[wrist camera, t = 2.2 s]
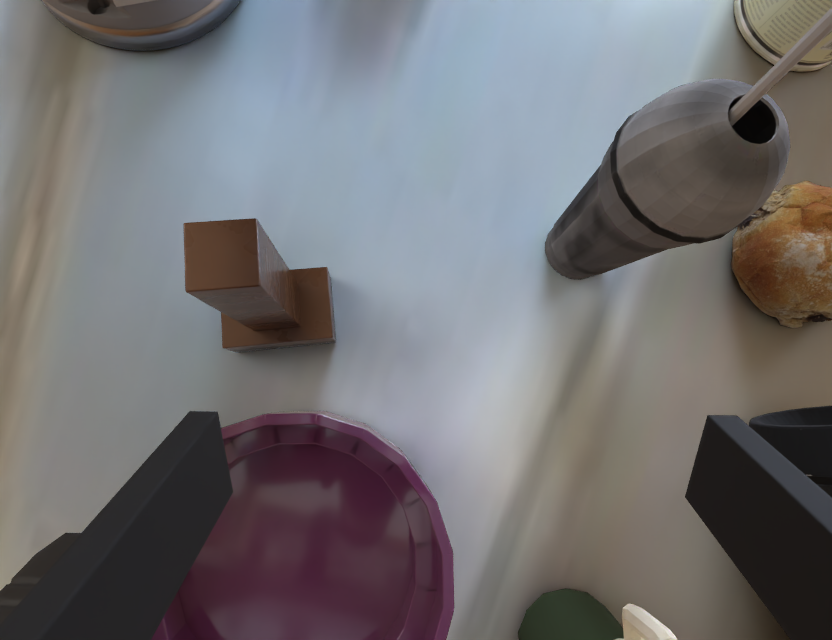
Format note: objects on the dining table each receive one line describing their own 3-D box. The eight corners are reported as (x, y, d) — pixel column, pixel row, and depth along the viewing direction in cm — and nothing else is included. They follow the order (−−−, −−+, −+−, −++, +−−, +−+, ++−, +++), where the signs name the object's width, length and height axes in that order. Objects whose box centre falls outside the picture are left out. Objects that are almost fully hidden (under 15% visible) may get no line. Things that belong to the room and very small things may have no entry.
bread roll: (700, 320, 36) (796, 352, 29) (710, 189, 33) (819, 187, 26) (806, 303, 37) (925, 329, 30) (824, 175, 35) (961, 169, 27)
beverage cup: (597, 316, 32) (967, 183, 12) (509, 265, 32) (734, 49, 12) (637, 233, 33) (1025, -6, 13) (552, 185, 33) (816, -126, 13)
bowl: (93, 528, 26) (29, 558, 21) (336, 357, 29) (328, 349, 24) (257, 787, 25) (228, 883, 20) (493, 579, 28) (519, 617, 23)
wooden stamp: (235, 352, 29) (133, 318, 16) (231, 285, 29) (132, 205, 17) (336, 342, 29) (310, 303, 17) (330, 277, 30) (302, 194, 18)
